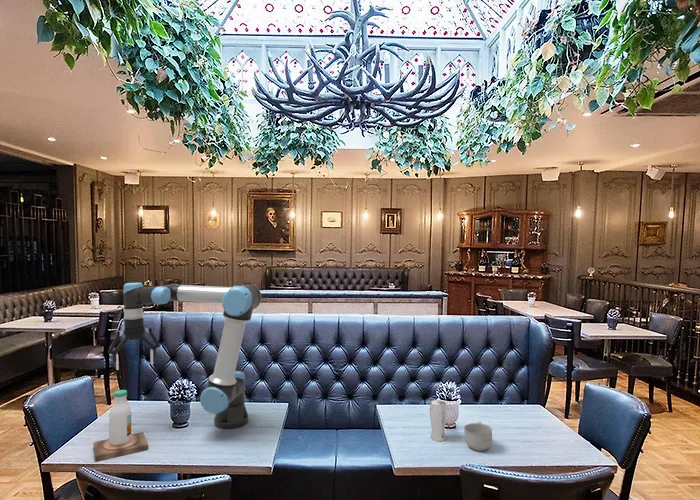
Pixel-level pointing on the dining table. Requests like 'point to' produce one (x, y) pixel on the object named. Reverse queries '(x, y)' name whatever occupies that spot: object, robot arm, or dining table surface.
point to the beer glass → (438, 419)
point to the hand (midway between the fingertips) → (135, 366)
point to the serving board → (120, 447)
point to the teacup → (478, 436)
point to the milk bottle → (120, 420)
